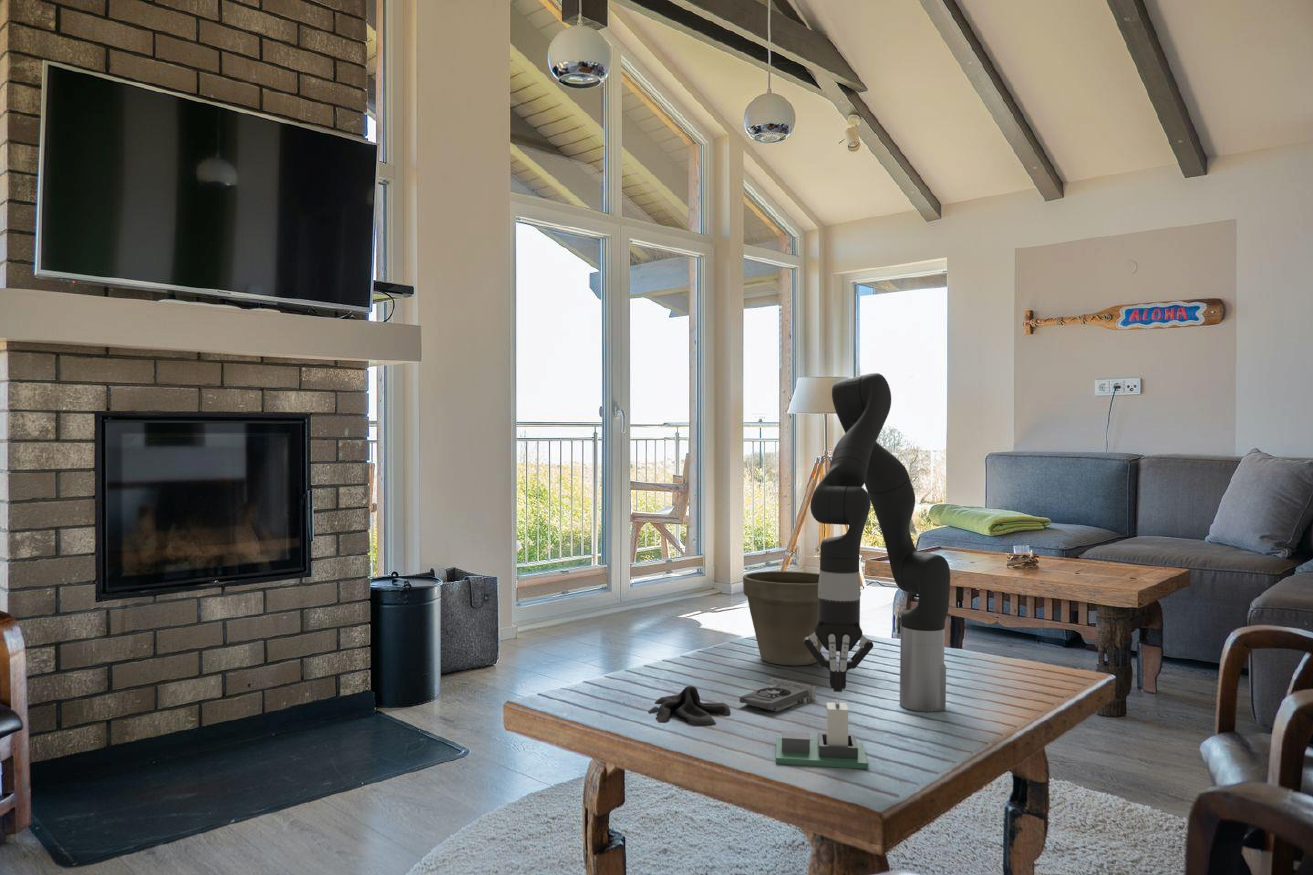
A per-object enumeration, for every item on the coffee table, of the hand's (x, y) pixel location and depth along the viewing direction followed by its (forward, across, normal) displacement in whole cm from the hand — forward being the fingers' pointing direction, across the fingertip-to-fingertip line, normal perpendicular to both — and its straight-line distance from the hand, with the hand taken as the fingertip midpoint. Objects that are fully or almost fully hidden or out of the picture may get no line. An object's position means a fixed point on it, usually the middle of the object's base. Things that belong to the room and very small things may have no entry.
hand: (837, 690), depth 173 cm
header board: (+12, +3, 0) cm, 12 cm away
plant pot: (+12, +8, -74) cm, 75 cm away
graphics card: (+13, +12, -34) cm, 38 cm away
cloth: (+13, +30, -22) cm, 39 cm away
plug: (+11, 0, 0) cm, 11 cm away
